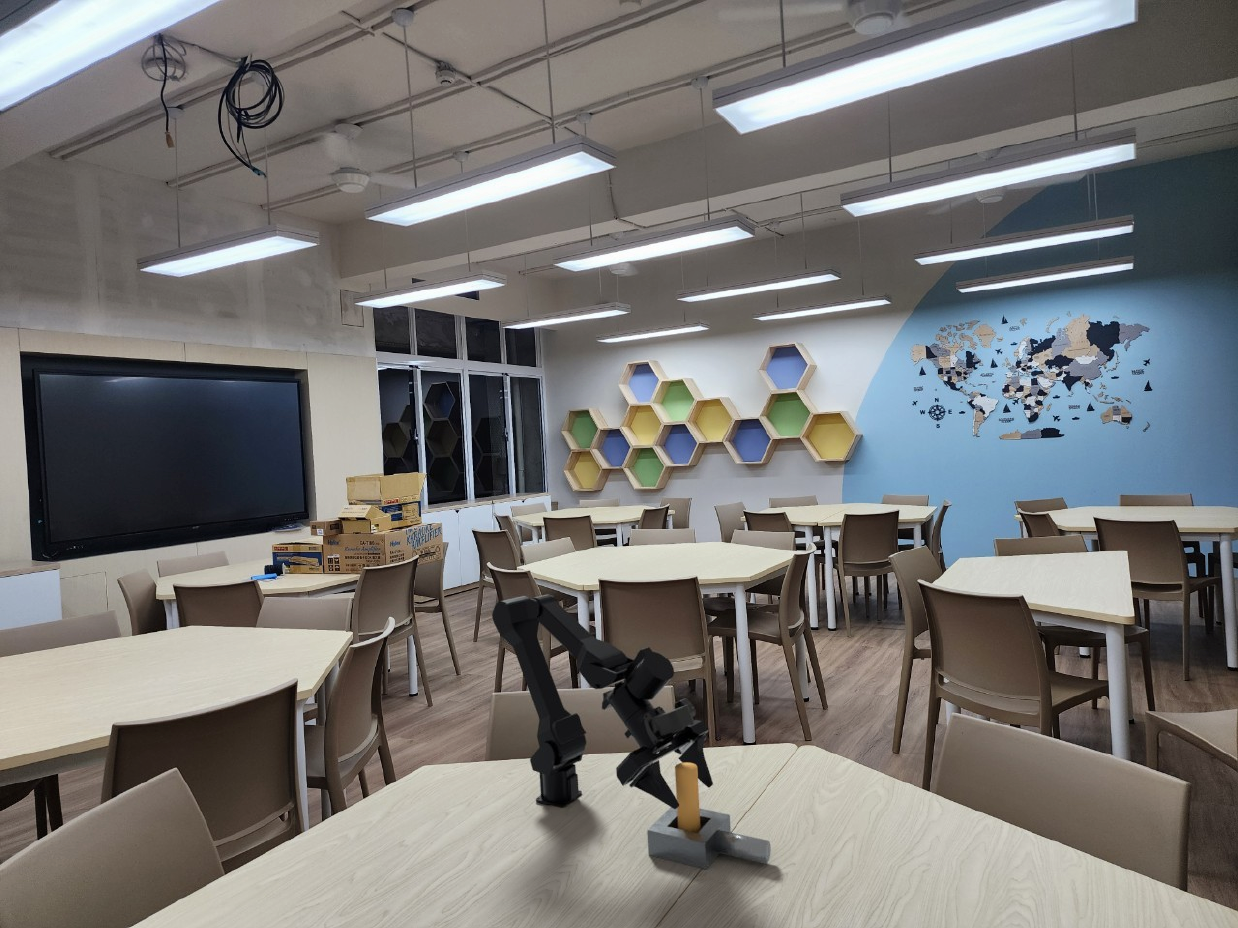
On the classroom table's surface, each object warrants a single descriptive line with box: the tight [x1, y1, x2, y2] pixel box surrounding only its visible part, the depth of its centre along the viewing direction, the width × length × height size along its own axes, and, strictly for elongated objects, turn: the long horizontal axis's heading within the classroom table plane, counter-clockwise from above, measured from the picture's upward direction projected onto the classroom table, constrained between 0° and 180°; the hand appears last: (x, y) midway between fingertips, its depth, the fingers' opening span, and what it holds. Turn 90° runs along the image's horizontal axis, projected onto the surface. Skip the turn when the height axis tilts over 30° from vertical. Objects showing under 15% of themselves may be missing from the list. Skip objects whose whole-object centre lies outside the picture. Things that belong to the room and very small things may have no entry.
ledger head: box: [646, 807, 772, 870], centre depth 120 cm, size 18×10×4 cm, turn 60°
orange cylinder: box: [674, 762, 701, 833], centre depth 122 cm, size 4×4×13 cm
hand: (694, 796), depth 121 cm, fingers open, 9 cm apart
